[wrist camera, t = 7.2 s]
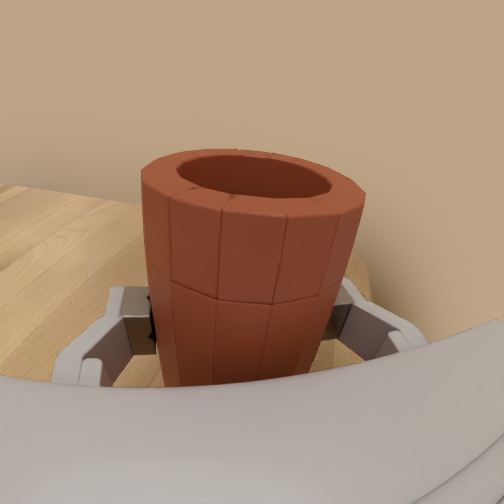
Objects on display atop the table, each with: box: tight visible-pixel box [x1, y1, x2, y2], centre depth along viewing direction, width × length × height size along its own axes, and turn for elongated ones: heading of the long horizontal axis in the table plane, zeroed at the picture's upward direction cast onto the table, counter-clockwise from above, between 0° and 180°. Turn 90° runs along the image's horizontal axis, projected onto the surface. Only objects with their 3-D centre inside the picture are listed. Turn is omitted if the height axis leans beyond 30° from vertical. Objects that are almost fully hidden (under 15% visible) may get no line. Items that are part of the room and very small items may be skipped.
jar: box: [141, 149, 366, 387], centre depth 10 cm, size 6×6×11 cm
